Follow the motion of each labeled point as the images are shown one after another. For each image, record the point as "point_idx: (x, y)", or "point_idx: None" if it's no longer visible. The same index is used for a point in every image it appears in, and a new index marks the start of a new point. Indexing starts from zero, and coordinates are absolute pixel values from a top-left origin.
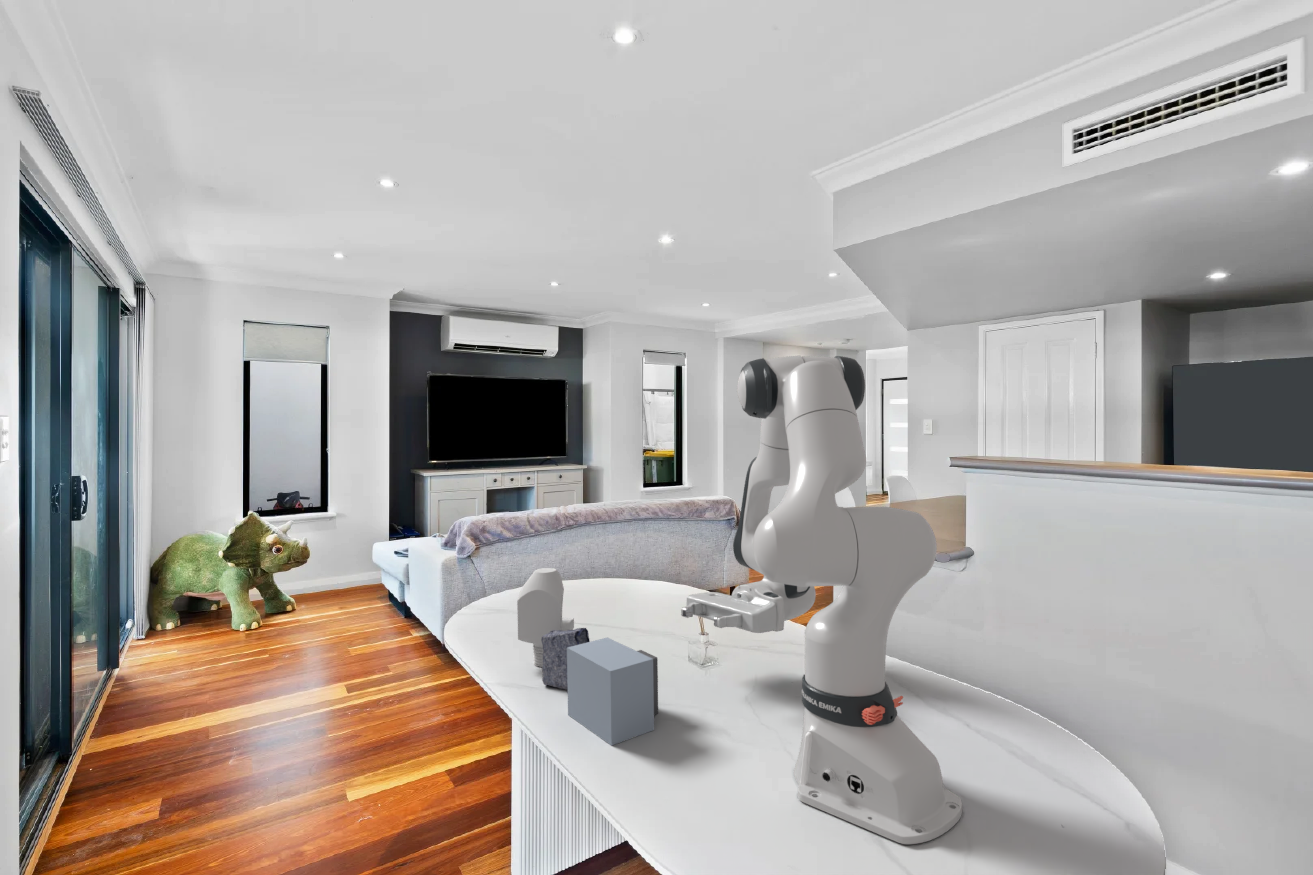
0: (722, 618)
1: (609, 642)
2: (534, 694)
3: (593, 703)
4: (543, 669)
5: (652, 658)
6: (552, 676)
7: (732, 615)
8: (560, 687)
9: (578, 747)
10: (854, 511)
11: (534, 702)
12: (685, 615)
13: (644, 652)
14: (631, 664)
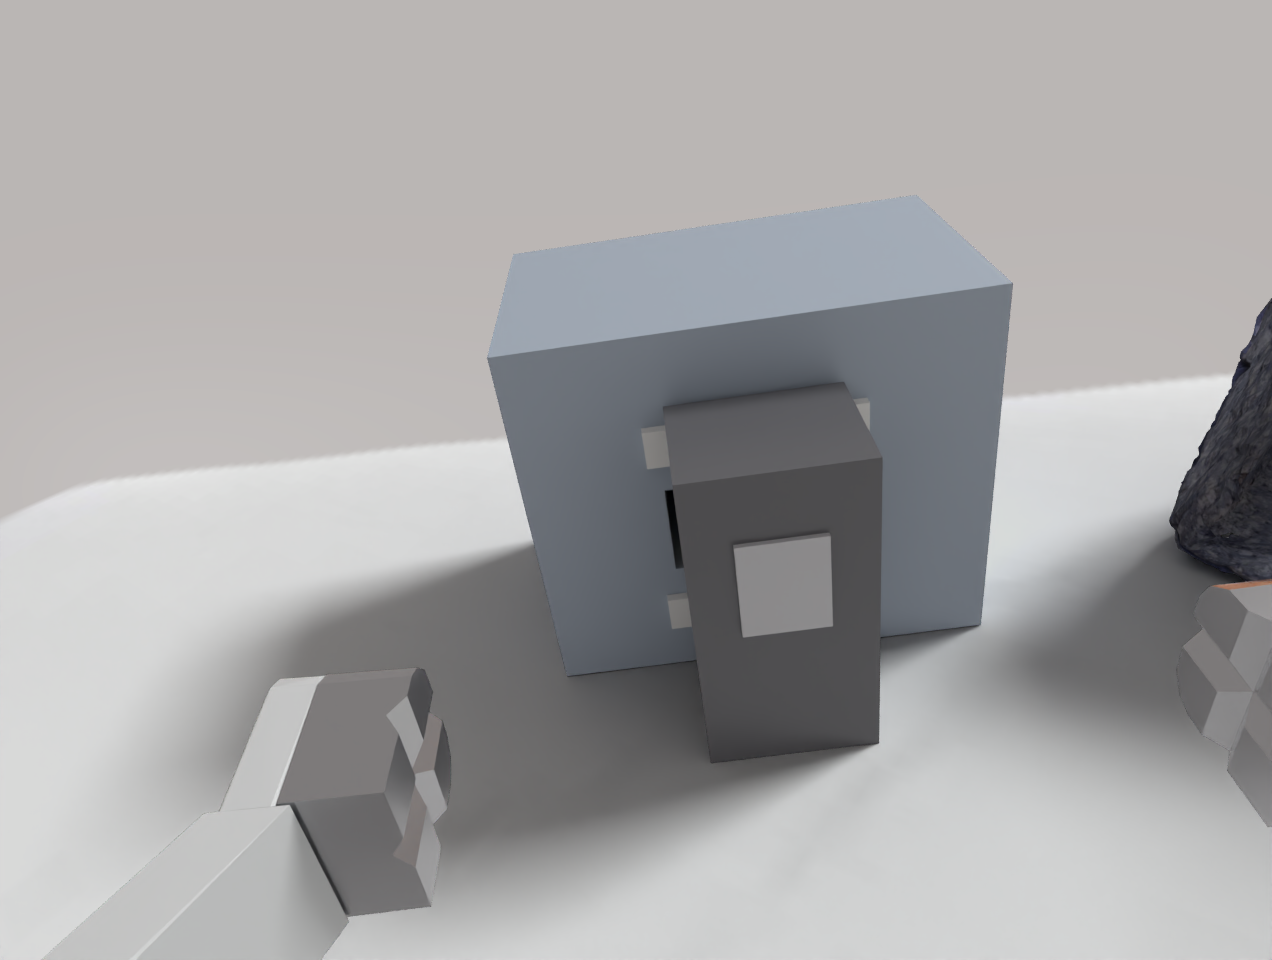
0: (258, 734)
1: (900, 280)
2: (1185, 440)
3: None
4: None
5: (675, 463)
6: (1269, 439)
7: (111, 957)
8: (1236, 505)
9: None
10: None
11: (1088, 431)
12: (1194, 658)
13: (817, 460)
14: (510, 299)
